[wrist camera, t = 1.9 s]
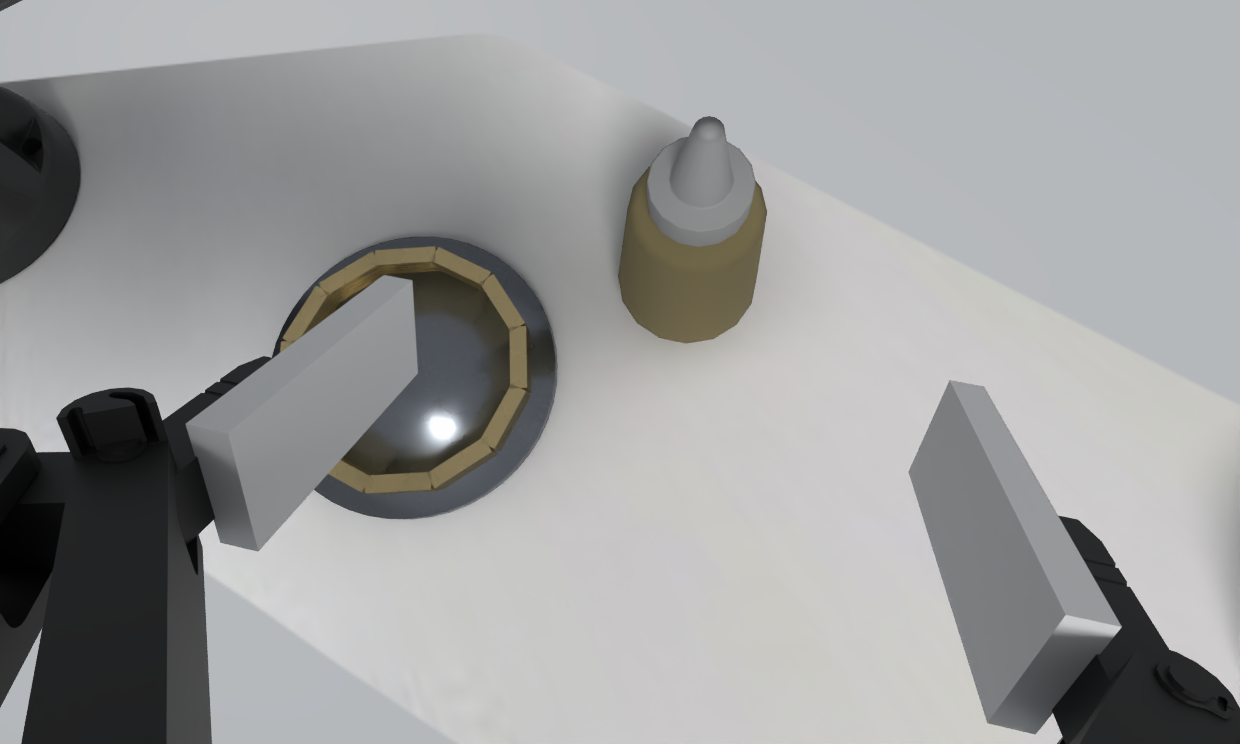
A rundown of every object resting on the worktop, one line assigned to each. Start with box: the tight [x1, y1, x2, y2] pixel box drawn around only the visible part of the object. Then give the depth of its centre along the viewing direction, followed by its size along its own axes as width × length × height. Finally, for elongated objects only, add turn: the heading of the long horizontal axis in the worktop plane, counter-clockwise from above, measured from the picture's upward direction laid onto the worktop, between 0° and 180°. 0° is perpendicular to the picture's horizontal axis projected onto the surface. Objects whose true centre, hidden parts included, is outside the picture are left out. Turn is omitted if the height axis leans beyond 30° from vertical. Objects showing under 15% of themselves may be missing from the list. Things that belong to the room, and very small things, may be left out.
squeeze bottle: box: [618, 116, 767, 343], centre depth 33 cm, size 8×8×18 cm
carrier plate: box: [272, 237, 557, 519], centre depth 40 cm, size 18×18×2 cm
